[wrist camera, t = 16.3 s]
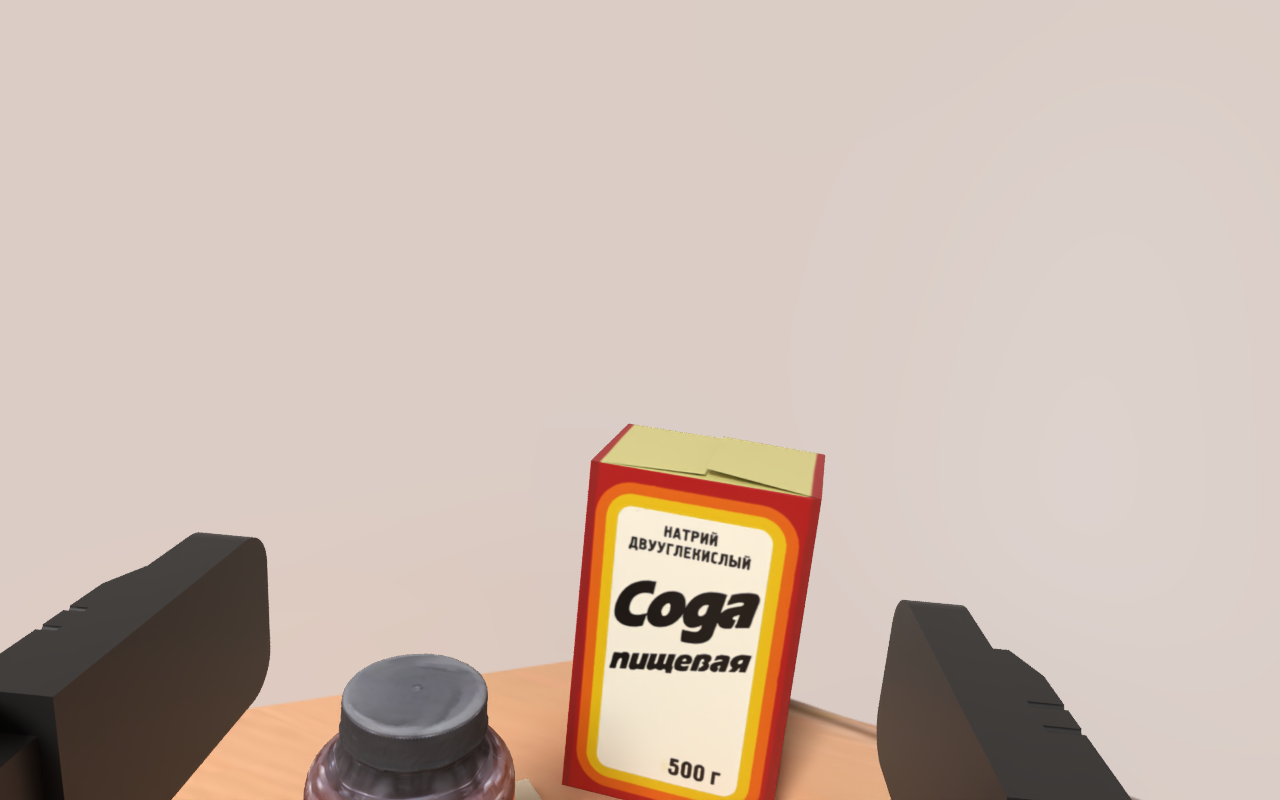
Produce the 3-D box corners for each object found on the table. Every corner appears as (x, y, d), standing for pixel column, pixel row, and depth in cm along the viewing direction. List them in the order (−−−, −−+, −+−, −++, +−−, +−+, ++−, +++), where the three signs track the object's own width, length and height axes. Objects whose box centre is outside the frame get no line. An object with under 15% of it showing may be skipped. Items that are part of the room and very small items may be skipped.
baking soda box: (562, 784, 39) (592, 452, 36) (600, 706, 46) (629, 416, 42) (768, 835, 38) (822, 490, 34) (779, 746, 44) (826, 447, 40)
